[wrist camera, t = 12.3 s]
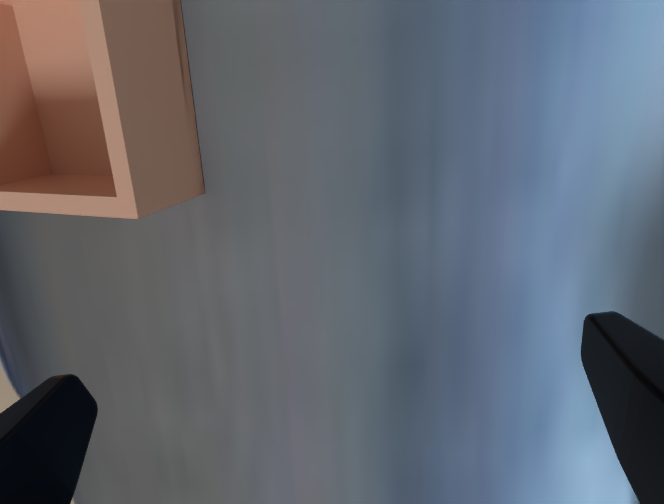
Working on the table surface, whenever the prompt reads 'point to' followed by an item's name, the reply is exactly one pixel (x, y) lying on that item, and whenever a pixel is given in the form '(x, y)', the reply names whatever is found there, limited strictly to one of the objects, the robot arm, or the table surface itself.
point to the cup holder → (96, 108)
